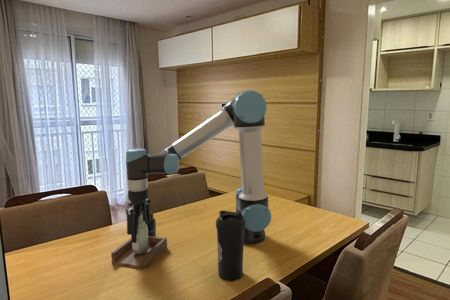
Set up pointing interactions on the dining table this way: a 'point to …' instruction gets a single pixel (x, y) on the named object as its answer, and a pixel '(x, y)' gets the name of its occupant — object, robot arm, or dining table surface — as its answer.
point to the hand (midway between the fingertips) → (140, 245)
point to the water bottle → (230, 244)
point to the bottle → (142, 235)
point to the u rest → (143, 260)
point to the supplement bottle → (152, 226)
